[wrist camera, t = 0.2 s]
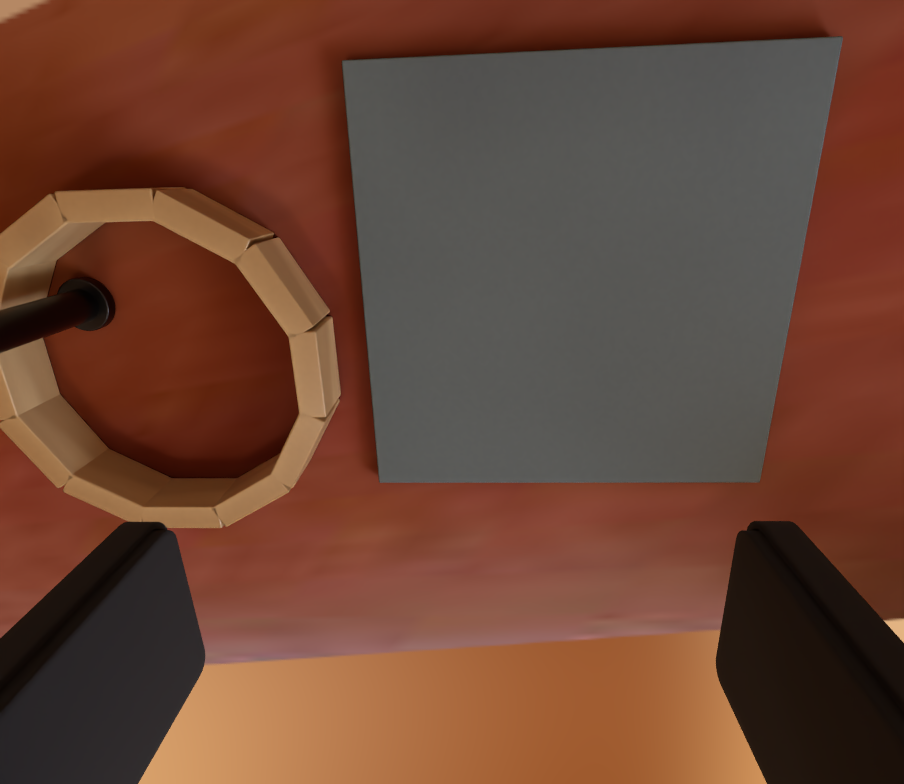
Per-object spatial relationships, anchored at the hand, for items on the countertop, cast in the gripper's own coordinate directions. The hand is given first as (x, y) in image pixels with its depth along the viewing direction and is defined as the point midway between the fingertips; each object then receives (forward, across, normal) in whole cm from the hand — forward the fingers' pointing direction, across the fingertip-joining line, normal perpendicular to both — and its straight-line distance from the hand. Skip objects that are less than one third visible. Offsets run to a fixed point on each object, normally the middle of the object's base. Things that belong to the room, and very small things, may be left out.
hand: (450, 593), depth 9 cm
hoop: (+19, +15, +2) cm, 25 cm away
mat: (+19, -5, -1) cm, 20 cm away
